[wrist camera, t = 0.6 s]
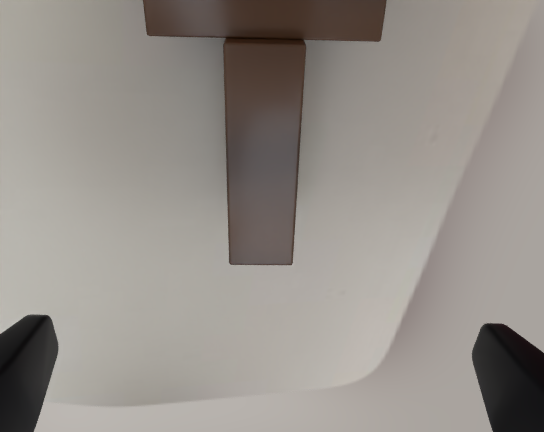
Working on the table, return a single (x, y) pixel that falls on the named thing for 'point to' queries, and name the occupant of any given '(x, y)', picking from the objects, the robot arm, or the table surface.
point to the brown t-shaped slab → (264, 101)
